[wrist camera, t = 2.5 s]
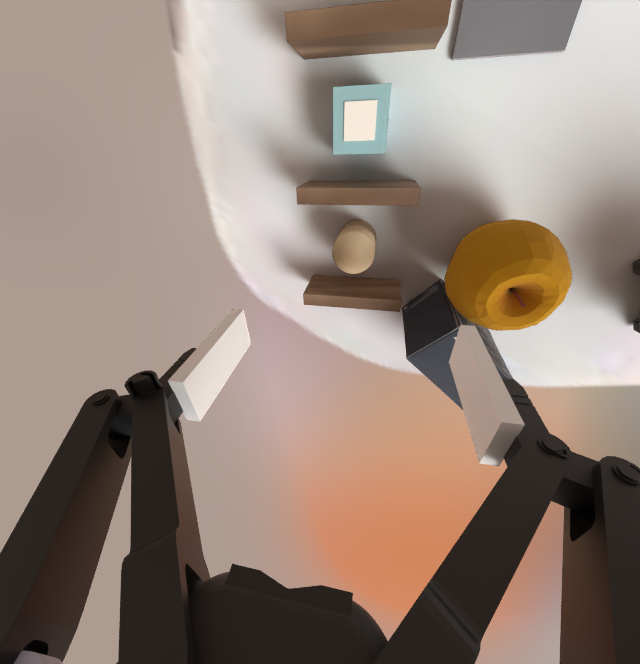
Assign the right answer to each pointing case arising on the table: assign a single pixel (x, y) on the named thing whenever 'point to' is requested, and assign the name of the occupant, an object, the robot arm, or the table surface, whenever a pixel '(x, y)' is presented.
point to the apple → (508, 275)
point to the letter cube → (360, 118)
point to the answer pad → (513, 27)
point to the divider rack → (351, 292)
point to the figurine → (638, 269)
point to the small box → (440, 338)
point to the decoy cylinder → (355, 247)
